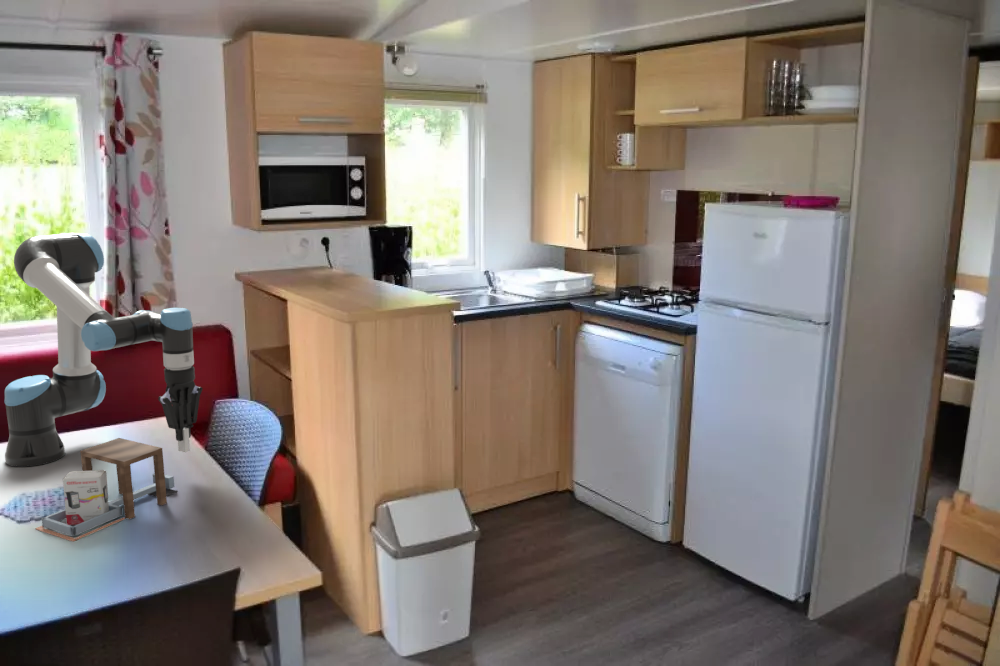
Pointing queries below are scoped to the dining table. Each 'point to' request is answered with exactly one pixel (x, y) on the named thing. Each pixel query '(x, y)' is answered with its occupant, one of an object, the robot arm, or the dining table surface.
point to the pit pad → (168, 492)
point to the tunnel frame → (127, 466)
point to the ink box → (85, 495)
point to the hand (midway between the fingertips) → (184, 450)
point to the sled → (113, 513)
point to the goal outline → (76, 537)
